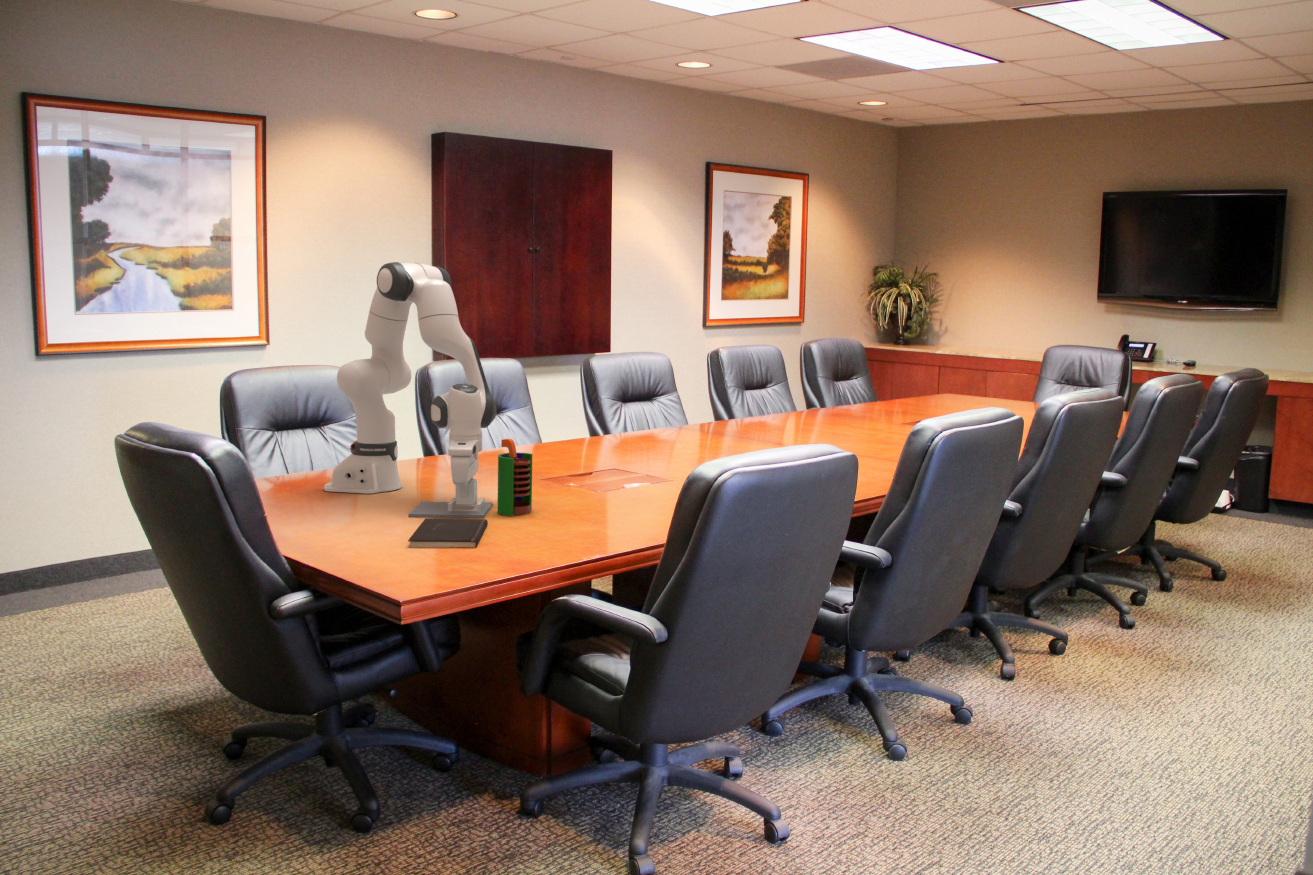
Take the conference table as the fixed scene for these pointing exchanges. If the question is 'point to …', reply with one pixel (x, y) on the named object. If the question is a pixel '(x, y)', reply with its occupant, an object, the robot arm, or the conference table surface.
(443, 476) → the conference table surface
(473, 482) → the white cube with knob
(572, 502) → the conference table surface
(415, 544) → the hardcover book
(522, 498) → the motor
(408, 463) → the conference table surface
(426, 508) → the mounting plate
